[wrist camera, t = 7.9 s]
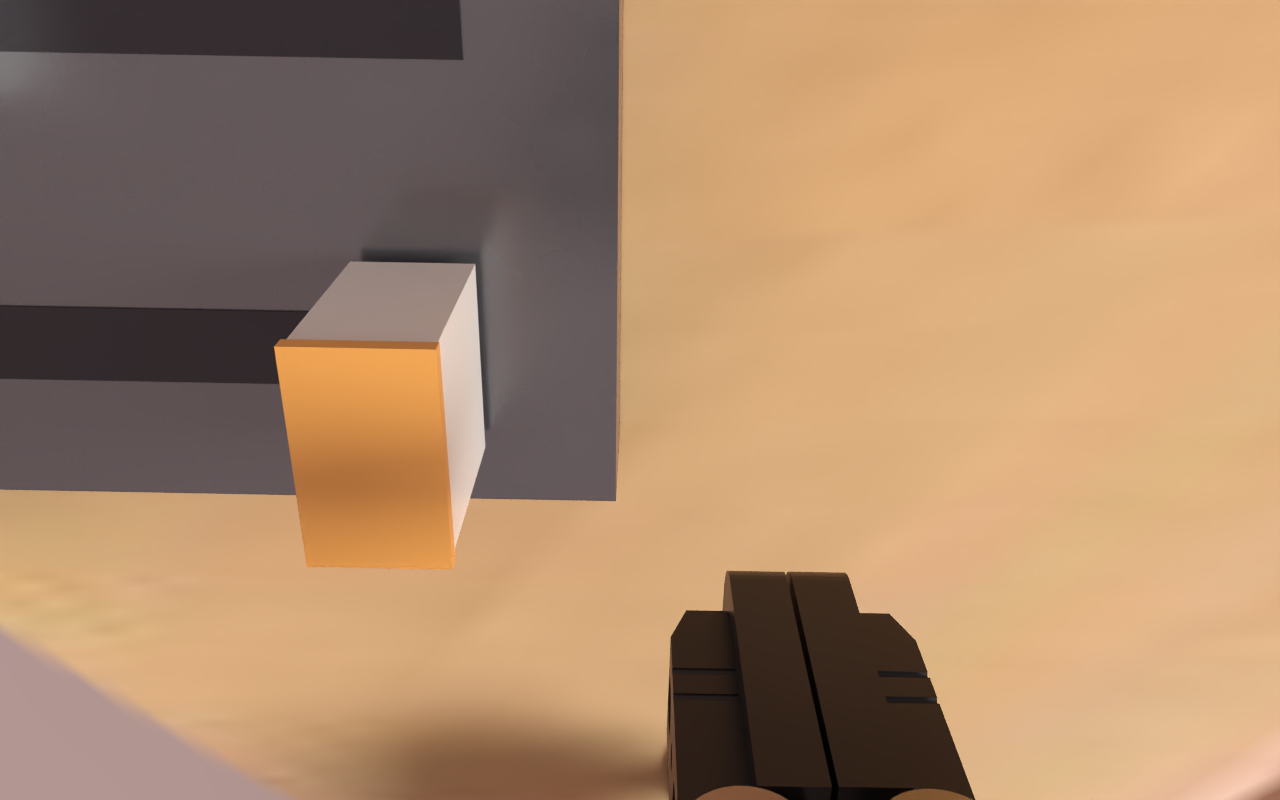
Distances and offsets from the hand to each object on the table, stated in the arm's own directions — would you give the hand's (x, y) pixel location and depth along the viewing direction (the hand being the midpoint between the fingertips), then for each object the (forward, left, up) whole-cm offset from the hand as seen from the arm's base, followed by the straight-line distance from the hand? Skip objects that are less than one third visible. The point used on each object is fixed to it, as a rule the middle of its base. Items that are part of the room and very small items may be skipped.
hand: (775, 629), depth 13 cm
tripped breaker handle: (+6, 0, -8) cm, 10 cm away
